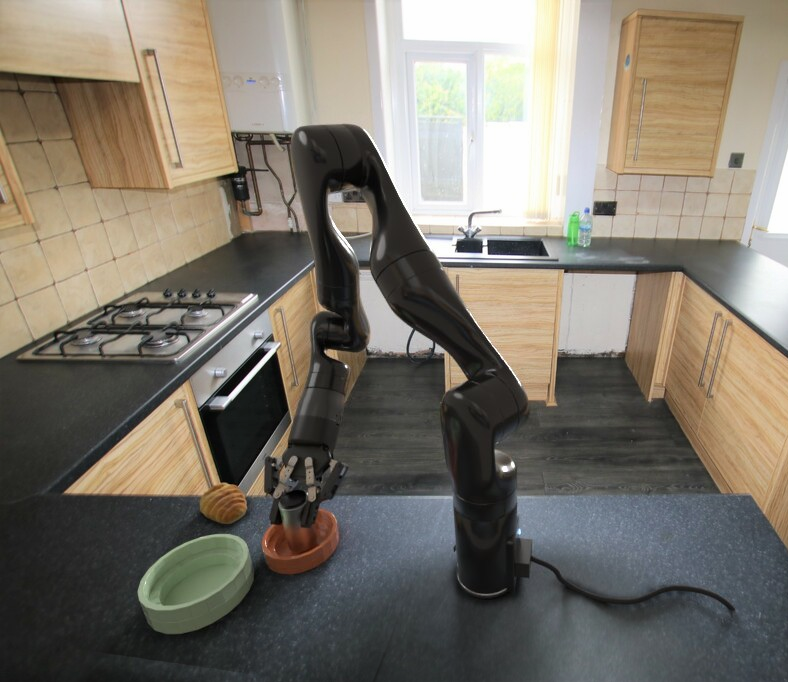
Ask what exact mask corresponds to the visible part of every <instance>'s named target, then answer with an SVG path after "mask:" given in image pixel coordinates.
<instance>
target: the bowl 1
mask: <svg viewBox="0 0 788 682" xmlns="http://www.w3.org/2000/svg"><path fill="white" fill-rule="evenodd" d="M254 581H255V567H254V565H253V561H252V557H251V553H250V551H249V547H248V545H247V542H246V541H245V540H244V539H242V538H241V537H240V536H237V535H234V534H230V533H216V534H210V535H209V534H208V535H204V536H200V537H198V538H197V537H196V538H195V539H192V540H189V541H186V542H184V543H182V544H180V545H178V546H176V547H174V548H173V549H171V550H169V551H168V552H166V553H165V554H164V555H163V556H161V557H159V558H158V559H157V560H156V561H155V562H154V563H153V564H152V565H151V566H150V567H149V568H148V569H147V571H146V572H145V573H144V575H143V576H142V578H141V579H140V582H139V585H138V588H137V597H138V602H139V604H140V606H141V609H142V611H143V614H144V616H145V619H146V622H147V624H148V625H149V626H150V628H152V629H153V630H154V631H155V632H158V633H161V634H164V635H182V634H186V633H190V632H194V631H198V630H200V629H202V628H205V627H207V626H210V625H212V624H214V623H215V622H217V621H218V620H220V619H221V618H223V617H225V616H226V615H229V613H230V612H232V611H233V610H234V609H235V608H236V607H237V606H238V605H239V604H240V603H241V602H242V601H243V600H244V599H245V597H246V596H247V594H248V593H249V592H250V590H251V587H252V585H253V583H254Z"/></svg>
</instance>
